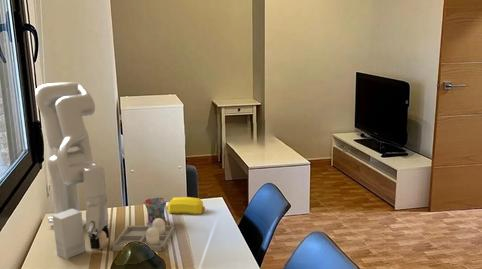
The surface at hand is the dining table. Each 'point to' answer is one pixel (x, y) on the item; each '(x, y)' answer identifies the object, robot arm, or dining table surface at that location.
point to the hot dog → (185, 205)
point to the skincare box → (69, 233)
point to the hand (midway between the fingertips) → (100, 243)
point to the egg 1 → (102, 239)
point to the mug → (155, 209)
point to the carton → (141, 237)
